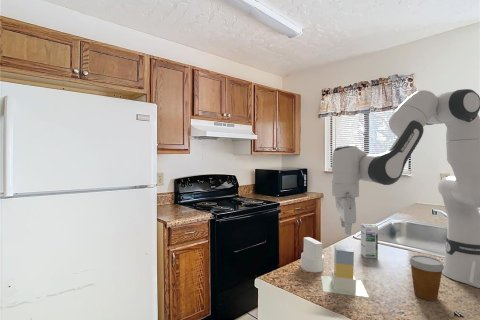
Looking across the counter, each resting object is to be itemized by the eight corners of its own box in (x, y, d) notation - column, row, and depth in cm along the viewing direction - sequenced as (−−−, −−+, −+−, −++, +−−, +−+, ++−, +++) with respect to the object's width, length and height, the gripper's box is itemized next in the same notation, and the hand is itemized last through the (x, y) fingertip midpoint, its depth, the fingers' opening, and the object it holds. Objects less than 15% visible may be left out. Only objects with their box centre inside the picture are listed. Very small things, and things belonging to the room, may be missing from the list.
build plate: (361, 283, 97) (361, 280, 97) (368, 300, 85) (369, 297, 85) (321, 278, 100) (321, 275, 100) (323, 294, 88) (323, 291, 88)
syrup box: (364, 258, 121) (365, 226, 121) (360, 253, 127) (360, 223, 127) (377, 258, 120) (378, 226, 120) (372, 254, 126) (373, 223, 126)
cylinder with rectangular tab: (296, 267, 110) (297, 238, 110) (314, 264, 113) (315, 236, 113) (309, 276, 102) (309, 245, 102) (328, 273, 105) (329, 242, 105)
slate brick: (350, 259, 94) (351, 246, 94) (353, 265, 89) (353, 251, 89) (334, 257, 96) (334, 245, 96) (336, 263, 90) (336, 250, 90)
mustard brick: (350, 271, 94) (350, 259, 94) (353, 278, 89) (353, 265, 89) (334, 270, 96) (334, 257, 96) (335, 276, 90) (336, 263, 90)
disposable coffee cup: (442, 307, 82) (443, 268, 81) (406, 296, 88) (406, 260, 88) (444, 295, 89) (445, 259, 89) (410, 285, 95) (411, 252, 95)
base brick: (352, 282, 95) (352, 271, 95) (355, 291, 88) (356, 279, 88) (331, 279, 97) (331, 268, 97) (333, 289, 90) (333, 277, 90)
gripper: (361, 195, 83) (361, 239, 83) (350, 188, 103) (350, 223, 103) (339, 194, 84) (340, 238, 85) (332, 187, 104) (333, 222, 105)
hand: (345, 230), depth 94 cm, fingers open, 8 cm apart
